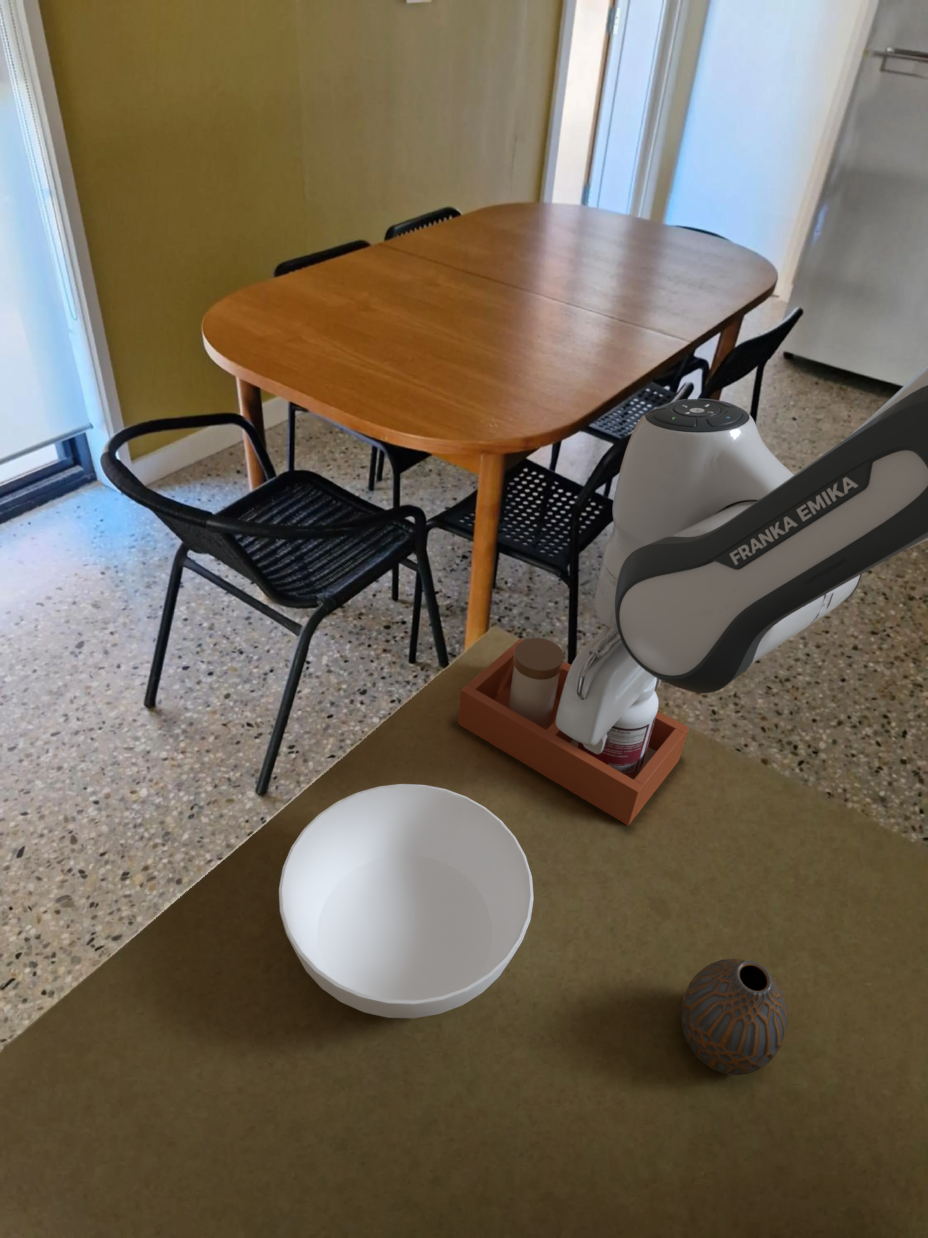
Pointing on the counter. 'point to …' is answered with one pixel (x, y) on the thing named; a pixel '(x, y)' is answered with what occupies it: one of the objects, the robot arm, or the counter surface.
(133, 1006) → the counter surface
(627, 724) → the pill bottle
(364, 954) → the bowl
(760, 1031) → the vase
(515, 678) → the spice jar
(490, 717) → the divided tray
